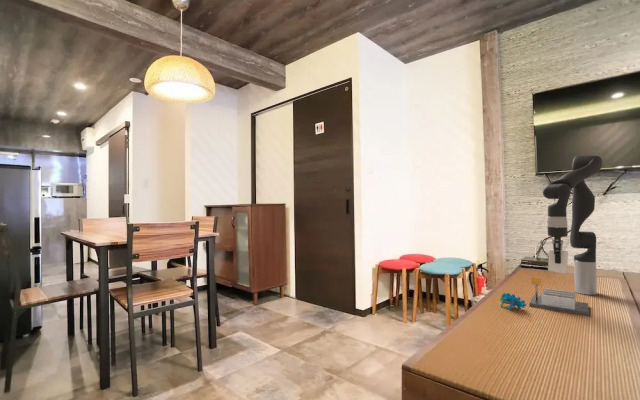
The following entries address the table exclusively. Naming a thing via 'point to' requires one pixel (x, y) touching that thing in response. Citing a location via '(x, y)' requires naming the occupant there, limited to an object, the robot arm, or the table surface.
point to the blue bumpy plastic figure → (511, 301)
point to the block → (554, 266)
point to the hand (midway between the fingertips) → (558, 262)
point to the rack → (557, 300)
